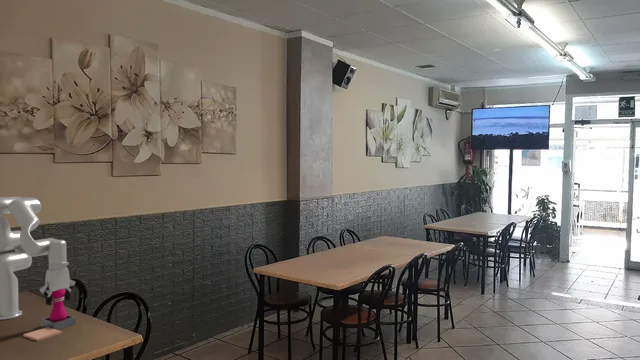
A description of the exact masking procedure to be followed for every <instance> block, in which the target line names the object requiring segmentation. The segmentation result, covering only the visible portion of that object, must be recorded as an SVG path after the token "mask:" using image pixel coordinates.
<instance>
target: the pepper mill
mask: <svg viewBox="0 0 640 360" xmlns="http://www.w3.org/2000/svg"><path fill="white" fill-rule="evenodd" d="M65 291H66V290H65V289H59V290H57V291H53V292H52V294H51V296H50V297H52V303H53V304H52V309H51V311H50V314H49V317H50V320H51V321H52V322H58V321H61V320H65V319H66V317H67V315H68V314H67V310H66V309H65V306H64V300H65Z"/></svg>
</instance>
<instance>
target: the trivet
mask: <svg viewBox="0 0 640 360" xmlns="http://www.w3.org/2000/svg"><path fill="white" fill-rule="evenodd" d="M61 334H63V331H62V330H60V329H58V330H56V329H52V328H49V327H46V328H44V327H42V328H41V329H38V330H37V329H36V330H33V331H29V332H26V333H24V334H23V338H27V339H29V340H33V341H36V342H39V341H43V340H45V339H50V338H52V337H55V336H58V335H61Z"/></svg>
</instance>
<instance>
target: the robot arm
mask: <svg viewBox="0 0 640 360" xmlns="http://www.w3.org/2000/svg"><path fill="white" fill-rule="evenodd" d="M41 210H42V204H41V202H40V200H39V199H37V198H36V197H30V196H29V197H28V196H4V197H3V196H1V197H0V252H6V253H3V254H0V321H2V320H10V319H14V318H17V317H20V316H22V315H23V311H22V310H20V309H19V279H18V277H17V276H16V274H15V273H14V272H17V271H21V270H25V269H28V268H29V267H31V265H32V264H33V257H39V256H40V257H41V256H46V255H47V256H48V269H46V273H45V277H44V279H45V281H44V285H43V286H41V287H40V288H39V292H40V293H41V294H42V295H43V296H44V297H45V304H46V305H48V306H51V305H52V306H53V304H52V303H53V301H52V298H53V297H52V296H51V294H52V292H53V291H57V290H59V289H65V294H64V300H65V301H70V300H71V292H72V291H73V288H74V286H75V284H76V280H72V279H71V277H70V272H69V268H68V267H67V266H68V265H69V264H70V262H69V261H67V259H68V258H67V242H66V240H64V239H57V238H53V237H49V238H48V237H47V238H42V239H36V240H35V239H34V238H33V237H32V235H31V232H32V231H34V230H35V229H36V228H37V227H38V226H39V225H40V222H41V221H40V219H39V217H38V216H37V215H38V214H39V213H40V212H41ZM10 214H11V216H12V217H13V219H14V220H15V221H16V223H17V225H19V227H20V228H21V230H12V229H11V225H10V222H9V221H8V219H7V218H6V217H5V215H10ZM3 215H4V216H3ZM13 250H14V251H13ZM8 251H9V252H8ZM10 251H13V252H10Z"/></svg>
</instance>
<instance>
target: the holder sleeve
mask: <svg viewBox="0 0 640 360" xmlns="http://www.w3.org/2000/svg"><path fill="white" fill-rule="evenodd" d="M76 317H77V316H74V315H70V314H67V317H66V319H65V320H61V321H58V322H52V321H51V320H50V316H49V317H44V318H41V319H40V327H41V328H46V327H49V328H52V329H56V330H62V329H64V328H68V327H70V326H74V325H76V324H77V322H76V321H77V318H76Z"/></svg>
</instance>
